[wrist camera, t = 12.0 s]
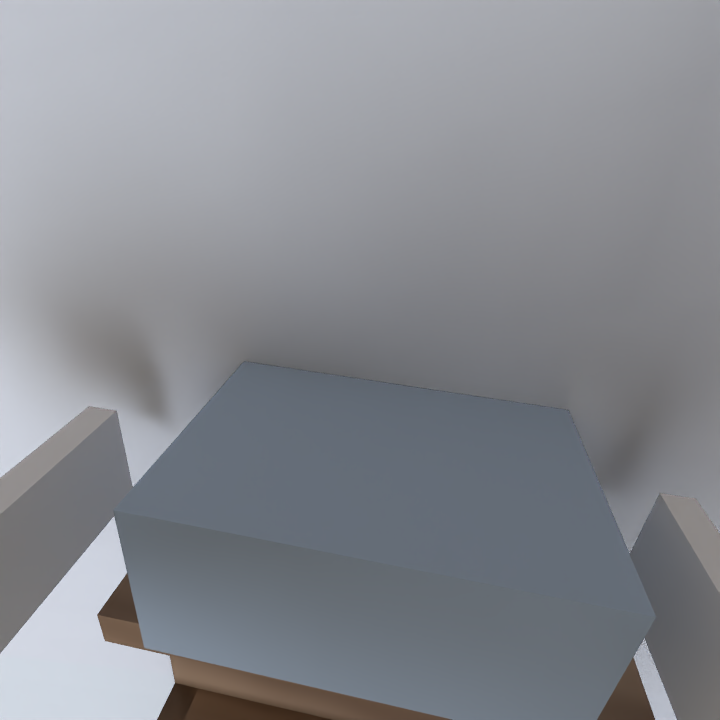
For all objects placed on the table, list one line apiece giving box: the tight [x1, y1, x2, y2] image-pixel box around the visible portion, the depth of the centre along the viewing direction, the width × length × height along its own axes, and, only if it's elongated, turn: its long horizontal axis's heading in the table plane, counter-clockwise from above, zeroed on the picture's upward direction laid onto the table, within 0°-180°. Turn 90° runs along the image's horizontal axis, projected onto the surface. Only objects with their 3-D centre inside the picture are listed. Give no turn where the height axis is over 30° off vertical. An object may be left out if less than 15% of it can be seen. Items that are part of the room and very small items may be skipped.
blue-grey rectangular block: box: [113, 361, 656, 720], centre depth 11 cm, size 9×4×6 cm, turn 86°
